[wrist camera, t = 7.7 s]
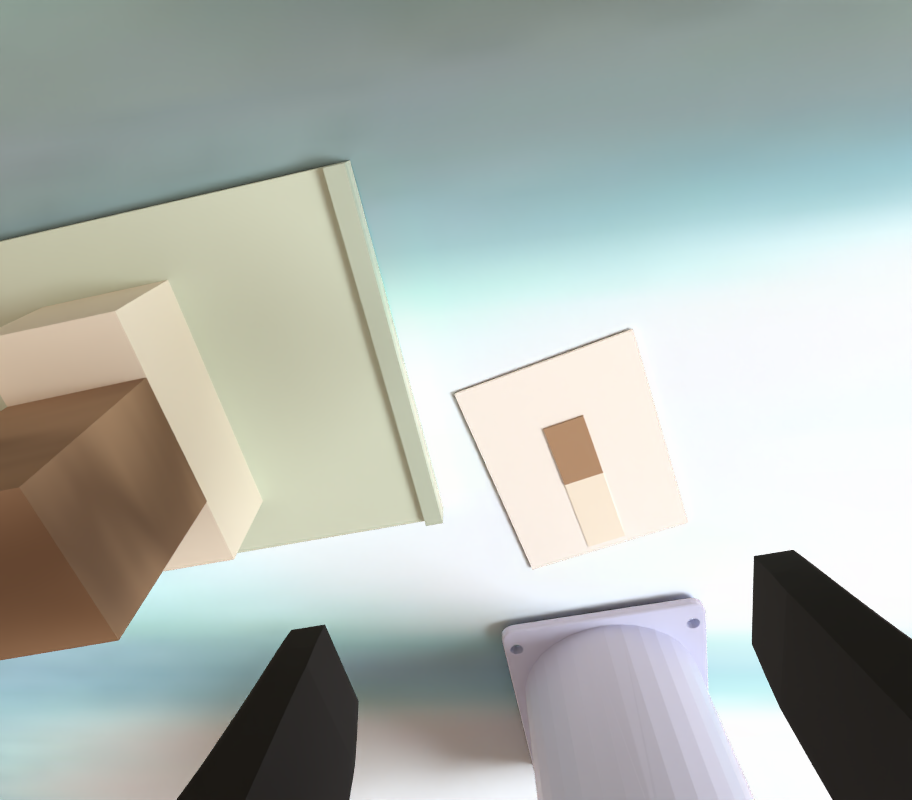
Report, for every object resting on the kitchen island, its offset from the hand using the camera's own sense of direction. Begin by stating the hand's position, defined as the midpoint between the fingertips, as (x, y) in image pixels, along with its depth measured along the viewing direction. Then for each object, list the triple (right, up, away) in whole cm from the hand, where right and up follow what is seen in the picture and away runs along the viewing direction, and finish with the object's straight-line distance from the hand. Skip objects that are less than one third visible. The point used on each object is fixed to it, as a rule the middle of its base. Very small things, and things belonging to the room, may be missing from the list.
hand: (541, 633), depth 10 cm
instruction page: (+3, +2, +11) cm, 11 cm away
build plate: (-10, +4, +10) cm, 14 cm away
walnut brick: (-11, +2, +6) cm, 13 cm away
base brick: (-11, +4, +9) cm, 15 cm away
